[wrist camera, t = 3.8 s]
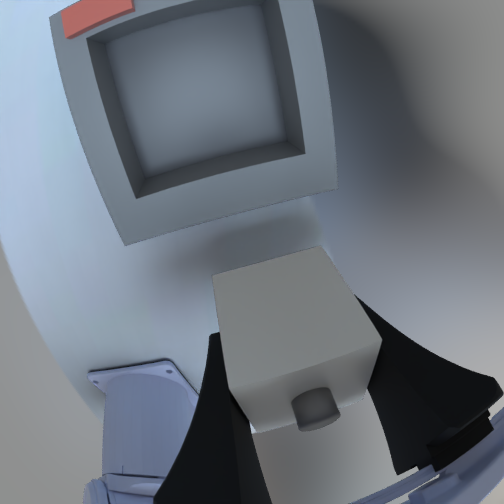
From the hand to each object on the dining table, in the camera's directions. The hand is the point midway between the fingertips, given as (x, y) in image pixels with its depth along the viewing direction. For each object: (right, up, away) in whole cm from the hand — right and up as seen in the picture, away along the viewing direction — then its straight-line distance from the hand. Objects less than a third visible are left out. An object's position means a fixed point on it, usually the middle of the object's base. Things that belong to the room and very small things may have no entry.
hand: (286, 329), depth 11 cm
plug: (0, +1, +1) cm, 2 cm away
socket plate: (-4, +10, -1) cm, 11 cm away
